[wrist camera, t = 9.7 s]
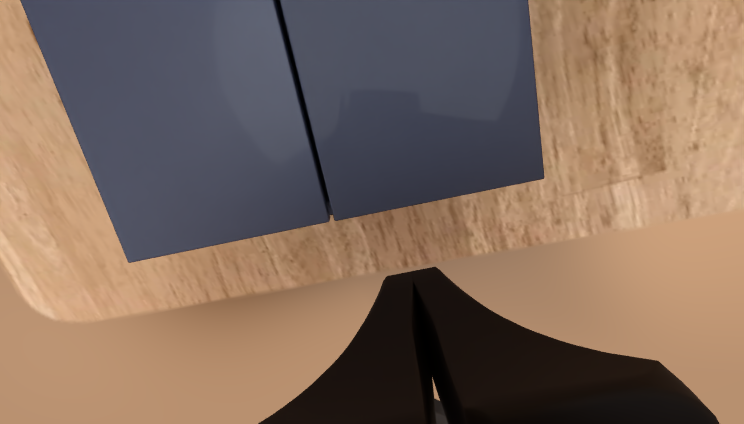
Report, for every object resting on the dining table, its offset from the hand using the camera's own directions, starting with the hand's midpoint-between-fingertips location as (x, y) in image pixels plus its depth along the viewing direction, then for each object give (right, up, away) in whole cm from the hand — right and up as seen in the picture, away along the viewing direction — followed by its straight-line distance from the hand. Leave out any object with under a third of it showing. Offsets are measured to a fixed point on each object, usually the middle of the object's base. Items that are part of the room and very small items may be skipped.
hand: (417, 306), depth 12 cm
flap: (-7, +7, +1) cm, 10 cm away
